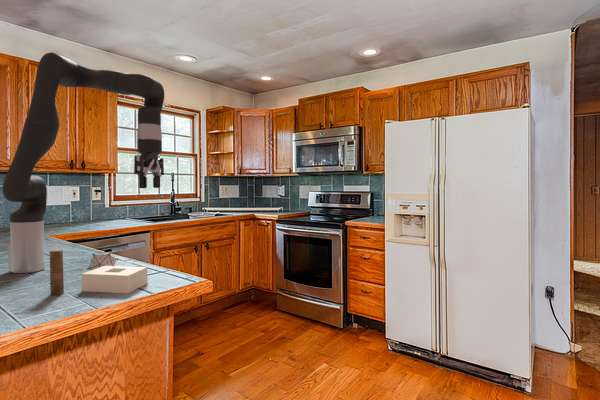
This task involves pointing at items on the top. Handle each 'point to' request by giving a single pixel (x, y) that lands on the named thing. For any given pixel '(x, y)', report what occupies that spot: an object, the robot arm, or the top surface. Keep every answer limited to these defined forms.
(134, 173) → the robot arm
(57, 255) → the peg
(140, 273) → the hole block
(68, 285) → the top surface
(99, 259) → the game die
